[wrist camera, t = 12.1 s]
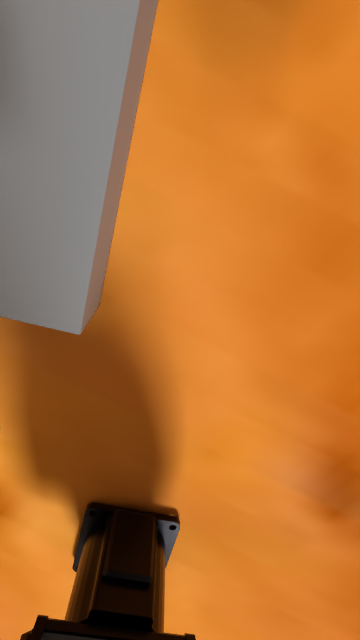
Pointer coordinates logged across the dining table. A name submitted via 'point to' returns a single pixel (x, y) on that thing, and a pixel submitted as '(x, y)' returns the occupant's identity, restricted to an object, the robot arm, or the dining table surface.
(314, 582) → the dining table surface
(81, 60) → the socket block
